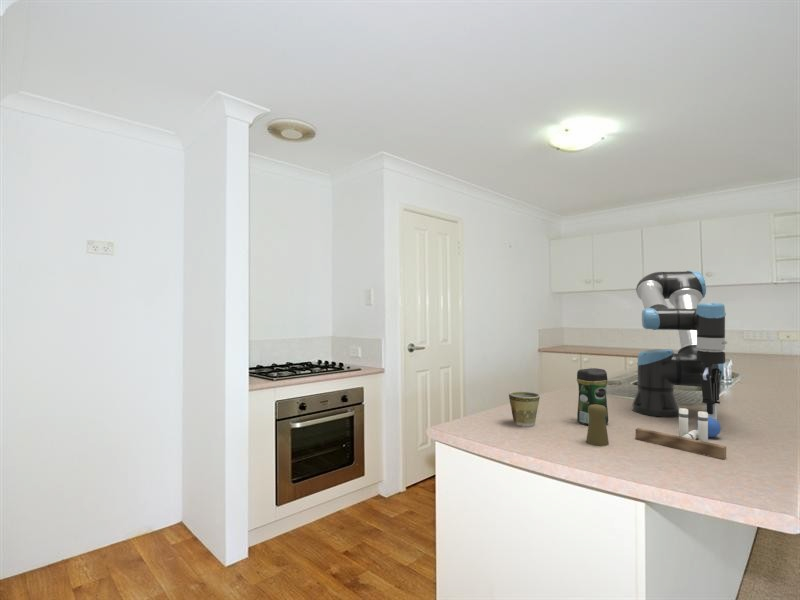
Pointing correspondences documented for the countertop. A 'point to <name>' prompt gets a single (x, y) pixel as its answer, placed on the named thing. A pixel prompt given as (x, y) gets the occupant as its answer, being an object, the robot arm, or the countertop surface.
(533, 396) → the ceramic cup
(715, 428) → the ball
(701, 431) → the pin back right
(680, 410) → the pin back left
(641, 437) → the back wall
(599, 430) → the olive tall tapered piece
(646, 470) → the countertop surface
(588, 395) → the coffee jar
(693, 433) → the pin front
